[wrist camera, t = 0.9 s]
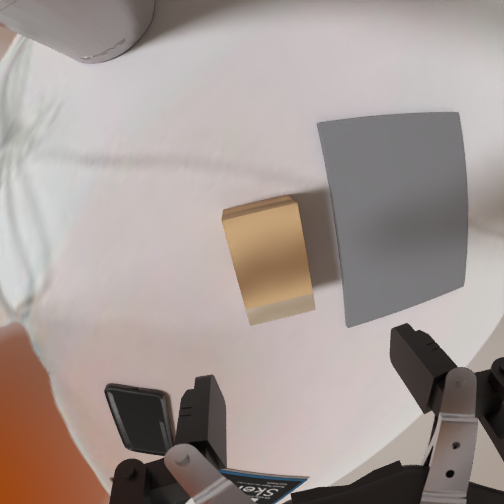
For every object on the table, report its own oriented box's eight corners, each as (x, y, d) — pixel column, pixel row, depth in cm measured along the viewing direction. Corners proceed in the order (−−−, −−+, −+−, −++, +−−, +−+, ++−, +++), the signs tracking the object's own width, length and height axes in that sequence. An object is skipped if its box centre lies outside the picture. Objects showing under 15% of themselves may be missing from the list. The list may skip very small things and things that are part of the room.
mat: (316, 123, 23) (318, 122, 22) (454, 112, 22) (458, 112, 22) (345, 324, 29) (347, 328, 29) (460, 284, 29) (463, 286, 29)
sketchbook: (306, 473, 42) (308, 482, 40) (241, 519, 50) (241, 526, 48) (190, 458, 37) (189, 468, 35) (155, 506, 46) (154, 512, 44)
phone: (126, 449, 34) (102, 386, 30) (127, 444, 36) (105, 380, 31) (175, 457, 35) (164, 395, 30) (176, 451, 36) (165, 389, 31)
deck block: (222, 209, 25) (221, 220, 21) (287, 194, 25) (297, 202, 21) (247, 302, 28) (250, 325, 24) (304, 288, 28) (315, 309, 24)
